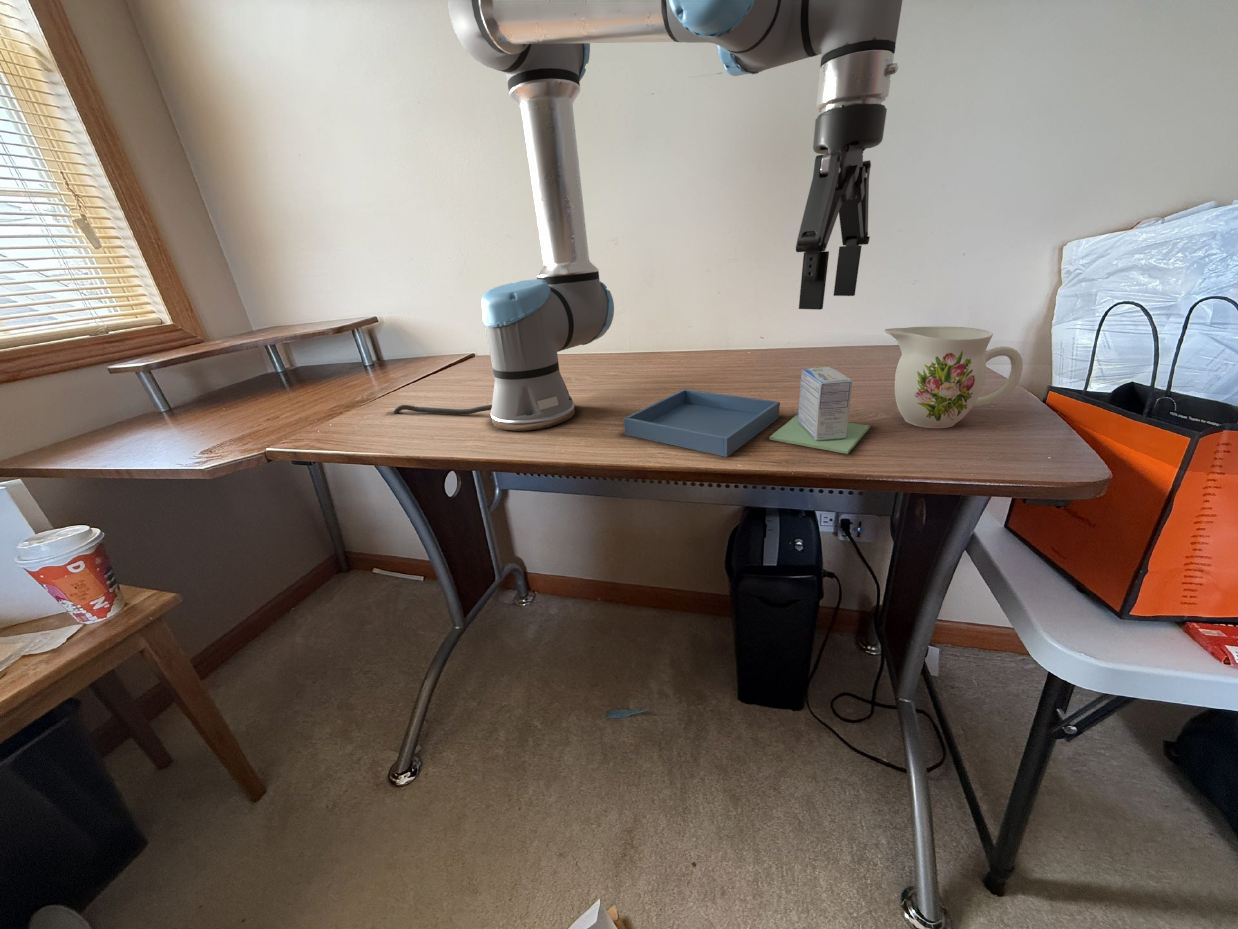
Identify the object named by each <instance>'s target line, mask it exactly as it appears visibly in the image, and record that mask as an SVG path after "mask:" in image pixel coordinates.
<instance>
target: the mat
mask: <svg viewBox="0 0 1238 929" xmlns="http://www.w3.org/2000/svg"><path fill="white" fill-rule="evenodd" d="M870 427H871V426H870V425H868V424H861V423H854V422H849V421H848V425H847V435H846V438H844V439H834V440H815V439H814V438H813V437H812V436H811V435H810V434H809V433H808V432H807V431H806V430H805V429H804V428H803V427H802V426H801V425H800V424H799V423H798V414H796V415H795V416H793V417H792V418H791V419H790V420H789V421H787V422H786V423H785V424H783V425H782V426H781V427H779V428H778V429H777V430H776V431H774V432H773V433H772V434H771V435H770V436H769V437H768V438H769V439H768V440H769V441H775V442H780V443H786V444H789V445H790V444H791V445H795V446H802V447H808V448H812V449H818V450H823V451H830V452H834V453H840V454H845V455H848V454H849V453H850V452H851V451H852V450H853V448H855V446H856V445H857V444H858V443H859V441H860V440H861V439H862V438H863V437H864V436H865V435H866V433H867V432H868V431H869V430H870Z"/></svg>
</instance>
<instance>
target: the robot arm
mask: <svg viewBox="0 0 1238 929" xmlns="http://www.w3.org/2000/svg"><path fill="white" fill-rule="evenodd" d="M447 6H448V15H449V19H450V23H451V26H452V29H453V31H454V33H455V36H456V37H457V39H458V41H459V43H460V44H461V46H462V47H463V49H464V50H465V51H466V52H467V54H469V55H470V56H471V57H472V58H473V59H474V60H475V61H476V62H479V63H480V64H481V65H484V66H485V67H486V68H489V69H493V70H495V71H498V72H502V73H505V76H506V83H507V89H508V94H509V95H508V96H509V98H510V99H511V100H512V101H513V102H514V103H515V105H517V106H518V107H519V109H520V113H521V120H522V127H523V135H524V141H525V149H526V155H527V162H528V170H529V177H530V182H531V183H530V184H531V190H532V197H533V203H534V209H535V218H536V224H537V231H538V238H539V244H540V252H541V259H542V260H541V261H542V267H541V268H540V270H539V271H538V273H537V274H536V279H525V280H519V281H516V282H509V283H505V284H502V285H501V284H500V285H499V286H494V287H493V288H491V289H488V290H487V291H485V292H484V293H483V295H482V297H481V300H480V305H481V315H482V319H481V320H482V324H483V326H484V331H485V336H486V341H487V345H488V351H489V357H490V363H491V368H492V374H493V378H494V387H493V393H492V401H491V404H487V405H481V406H477V407H471V408H463V409H462V408H460V409H459V408H445V407H444V408H443V407H430V406H429V407H427V406H415V405H411V404H410V405H409V404H401V405H398V406H397V407H395V409H393V411H392V414H393V415H397V414H399V413H400V412H401V411H411V412H415V413H416V412H417V413H432V414H445V415H447V414H448V415H471V414H477V413H480V412H486V411H490V418H491V423H492V426H494V427H495V428H498V429H501V430H505V431H515V432H519V431H521V432H522V431H533V430H540V429H546V428H551V427H553V426H557V425H559V424H562V423H565V422H567V421H569V419H571V418H572V417H573V416H575V413H576V410H575V403H574V400H573V398H572V396H571V395H570V393H569V389H568V387H567V386H566V382H565V381H564V378H563V376H562V374H561V372H560V371H561V370H560V364H559V357H558V352H561V351H565V350H568V349H571V348H575V347H579V346H585V345H589V344H591V343H593V342H594V341H597V340H598V339H600V338H602V337H603V336H604V335H606V333H607V332H608V331H609V329H610V327H611V325H612V323H613V320H614V315H615V302H614V298H613V295H612V293H611V290H609V289H607V285H606V284H605V283H604V282H602V281H601V280H600V272H599V271H600V270H599V268H598V267H596V266H595V265H594V264H593V263H592V262H591V260H590V255H589V244H588V237H587V236H588V234H587V226H586V225H587V224H586V218H585V217H586V216H585V207H584V199H583V197H584V196H583V188H582V180H581V170H580V162H579V161H580V160H579V153H578V152H579V151H578V142H577V133H576V123H575V115H574V102H575V101H576V99H577V98H578V96H579V95H580V93H581V83H580V82H581V81H582V79H583V78H584V76H585V73H586V71H587V69H586V65H588V64H589V62H590V56H591V55H590V54H591V44H629V43H631V44H632V43H633V44H634V43H687V44H689V43H691V44H692V43H693V44H695V43H701V44H702V43H707V44H708V43H709V44H715V45H717V46H716V47H717V54H718V57H719V60H720V63H721V64H722V65H723V69H724V71H725V72H726V73H727V74H728V75H729V76H732V77H740V76H745V75H757V74H759V73H761V72H764V71H767V70H769V69H770V70H771V69H774V68H776V67H777V68H778V67H781V66H785V65H788V64H791V63H795V62H798V61H803V60H805V59H808V58H813V57H816V56H820V55H821V58H820V65H819V66H820V67H819V76H818V86H817V95H816V104H815V105H816V106H815V108H816V110H817V111H818V112H819V113H820V114H818V116H817V117H816V119H815V121H814V130H813V131H814V132H813V141H812V142H813V143H812V150H813V152H814V153H816V154H817V155H816V156H815V157H814V166H813V172H812V180H811V183H810V188H809V192H808V195H807V199H806V203H805V207H804V211H803V215H802V219H801V224H800V228H799V231H798V235H797V239H796V243H795V252H796V253H803V257H802V268H801V277H800V278H801V279H800V291H799V299H798V300H799V301H798V310H818V311H819V310H824V302H825V293H826V284H827V275H828V274H827V273H828V264H829V256H830V251H829V250H827V248H828V244H829V241H830V238H831V236H832V233H833V230H834V227H835V225H836V222H837V219H838V217H839V226H840V234H841V242H842V246H841V245H840V246H839V247H838V253H837V254H838V255H837V263H836V272H835V280H834V287H833V297H854V296H856V289H857V282H858V274H859V268H860V261H861V254H862V253H861V252H862V246H864V245H865V246H866V245H869V243H870V238H871V237H870V236H869V193H870V174H871V168H872V162H871V160H870V159H869V160H864V155H863V154H864V151H865V150H867V149H873V148H875V147H877V146H879V145H880V144H881V143H882V142H883V139H884V133H885V125H886V120H887V119H886V118H887V111H888V109H887V107H886V106H885V105H884V104H882V103H884V102H885V101H886V100H887V99H888V98H889V94H890V86H891V76H892V75H894V74H896V73H897V72H898V70H899V65H898V63H897V62H894V57H895V56H894V55H895V53H896V45H897V38H898V32H899V25H900V20H901V14H902V8H903V7H902V6H903V0H447Z"/></svg>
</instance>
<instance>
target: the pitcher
mask: <svg viewBox="0 0 1238 929" xmlns="http://www.w3.org/2000/svg"><path fill="white" fill-rule="evenodd" d="M884 332H885V333H886V334H888V335H889V336H891V337H892V338H894V340H896V342H897V344H898V346H899V349H900V352H901V355H900V357H899V360H898V362H897V365H896V370H895V375H894V397H895V402H896V406H897V409H898V412H899V413H900V415H901V416H902V418H903V420H904V421H905V422H906V423H908V424H909V425H913V426H916V427H918V428H919V427H920V428H925V429H948V428H952V427H954V426H955V425H956V424H958V423H959V422H960V421H961V420H963V418H965V417H966V415H967V414H968V413H969V412H970V411H971V409H976V408H981V407H986V406H989V405H992V404H995V403H997V402H1000V401H1001V400H1002V399H1004V398H1006V397H1007V396H1008V395H1009V394H1010V393H1012V391H1013V390H1015V388H1016V387H1017V386H1018V383H1019V381H1020V380H1021V376H1022V373H1023V369H1024V361H1023V358H1022V355H1021V353H1020V352H1019V351H1018V350H1017V349H1016V348H1014V347H1010V346H997V347H993V348H990V349H987V348H988V346H989V344H990V342H991V340H992V338H993V333H992V332H991V331H989V330H986V329H980V328H975V327H964V326H909V327H894V328H885V329H884ZM997 357H1007V358H1008V359H1009V362H1010V366H1011V367H1010V369H1011V370H1010V372H1009V375H1008V378H1007V380H1006V381H1005V383H1004V384H1003V385H1002V386H1001V387H1000V388H998V389H997V390H995V391H994V392H991V393H989V394H987V395H984V396H980V394H981V392H982V389H983V386H984V384H985V379H986V375H987V363H988V362H989V361H990V360H992V359H995V358H997ZM979 396H980V397H979Z"/></svg>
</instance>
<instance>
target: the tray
mask: <svg viewBox="0 0 1238 929" xmlns="http://www.w3.org/2000/svg"><path fill="white" fill-rule="evenodd" d="M780 406H781V401H777V400H770V399H761V398H755V397H748V396H739V395H733V394H732V395H731V394H724V393H717V392H710V391H702V390H695V389H686V388H683V389H681V390H679V391H677V392H675V393H673V394H671V395H669V396H666V397H665V398H663V399H661V400H658V401H657V402H655V403H652V404H650V405H649V406H646V407H644V408H642V409H640V410H638V411H635V412H634V413H631V414H630V415H628V416H625V417H623V428H624V436H628V437H632V438H638V439H643V440H646V441H651V442H657V443H661V444H665V445H669V446H675V447H680V448H683V449H688V450H693V451H698V452H702V453H706V454H711V455H716V456H721V457H725V458H728V457H729V456H731V455H732V454H733V453H735V452H736V451H738V449H740V448H741V447H742V446H744V445H745V444H746V443H748V442H749V441H751V440H752V439H753V438H754V437H756V436H757V435H759V433H761V432H763V431H764V430H765V429H766V428H767V427H769V426H770V425H772V424H773V423H775V422H776V421H777V420H778V419H779V418H780Z"/></svg>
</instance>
